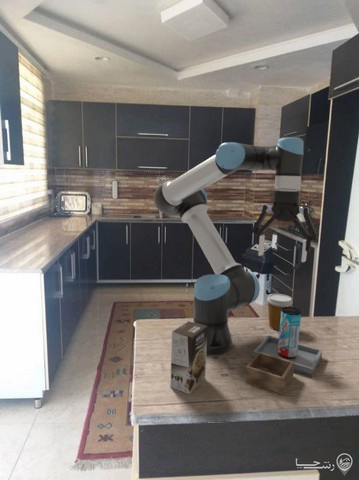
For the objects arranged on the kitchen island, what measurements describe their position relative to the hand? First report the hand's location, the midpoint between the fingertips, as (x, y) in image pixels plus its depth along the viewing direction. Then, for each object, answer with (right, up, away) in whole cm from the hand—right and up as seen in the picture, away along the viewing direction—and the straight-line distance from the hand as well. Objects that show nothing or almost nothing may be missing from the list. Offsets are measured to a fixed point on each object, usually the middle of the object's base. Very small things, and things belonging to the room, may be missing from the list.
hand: (281, 258), depth 111 cm
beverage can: (+2, -31, +1) cm, 31 cm away
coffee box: (-30, -34, -14) cm, 47 cm away
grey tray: (+2, -32, +1) cm, 32 cm away
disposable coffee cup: (+6, -28, +25) cm, 38 cm away
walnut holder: (-7, -34, -11) cm, 36 cm away
